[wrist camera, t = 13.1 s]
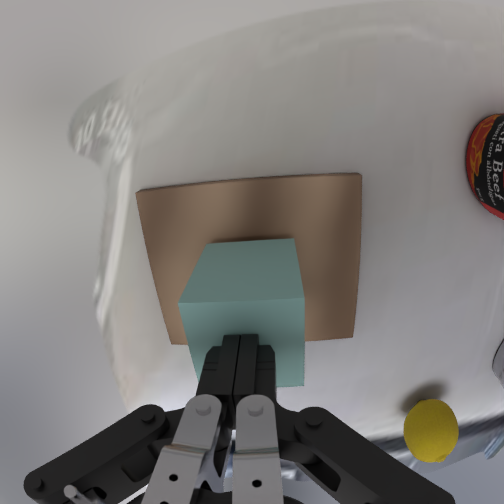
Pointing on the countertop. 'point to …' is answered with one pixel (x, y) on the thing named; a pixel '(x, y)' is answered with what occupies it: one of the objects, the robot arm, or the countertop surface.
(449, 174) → the countertop surface
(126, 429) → the robot arm
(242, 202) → the stand
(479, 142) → the canned food
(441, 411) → the lemon
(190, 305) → the mint foam cube
